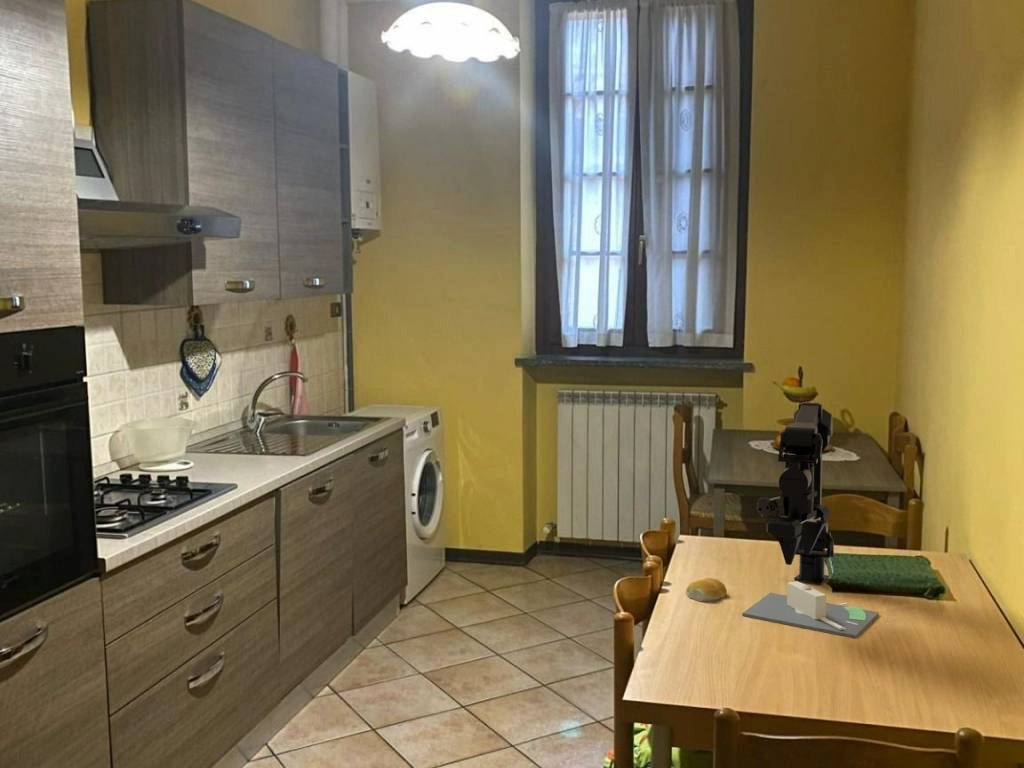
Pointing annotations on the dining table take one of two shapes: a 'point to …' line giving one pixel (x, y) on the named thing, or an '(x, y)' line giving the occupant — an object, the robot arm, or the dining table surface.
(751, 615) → the grey board
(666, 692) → the dining table surface
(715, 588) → the bread roll
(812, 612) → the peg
